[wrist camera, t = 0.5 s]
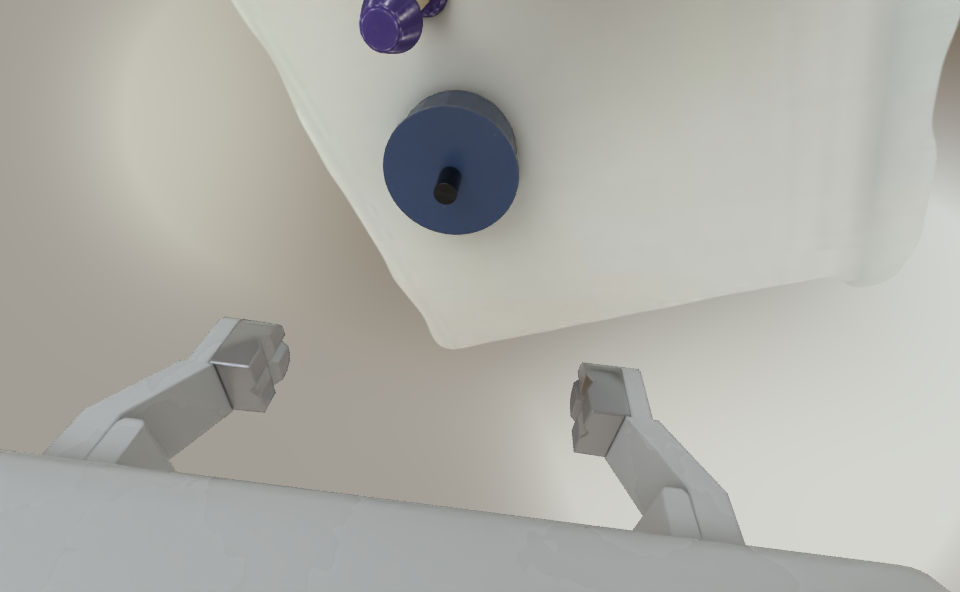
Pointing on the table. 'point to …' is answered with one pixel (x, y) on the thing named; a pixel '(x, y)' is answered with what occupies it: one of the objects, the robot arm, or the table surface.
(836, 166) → the table surface
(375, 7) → the toy lamp
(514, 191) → the lid
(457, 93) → the pot
